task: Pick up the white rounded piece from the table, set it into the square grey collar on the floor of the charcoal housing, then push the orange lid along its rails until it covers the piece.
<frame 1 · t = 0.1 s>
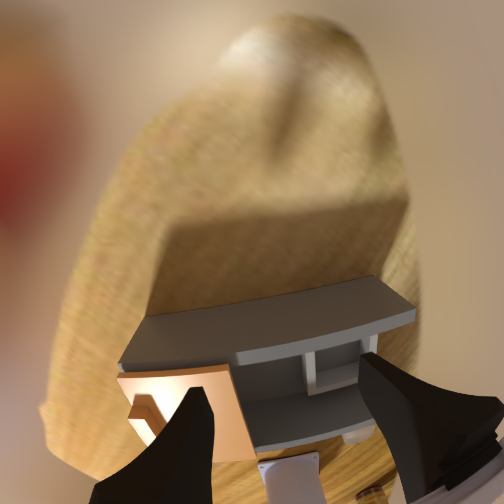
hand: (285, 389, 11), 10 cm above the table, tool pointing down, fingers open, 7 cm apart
white rounded piece: (344, 402, 25), on the table
sauce bottle: (366, 491, 35), on the table
lid: (193, 431, 15), point 8 cm above the table, slide at 0.0 cm
housing: (270, 355, 22), on the table
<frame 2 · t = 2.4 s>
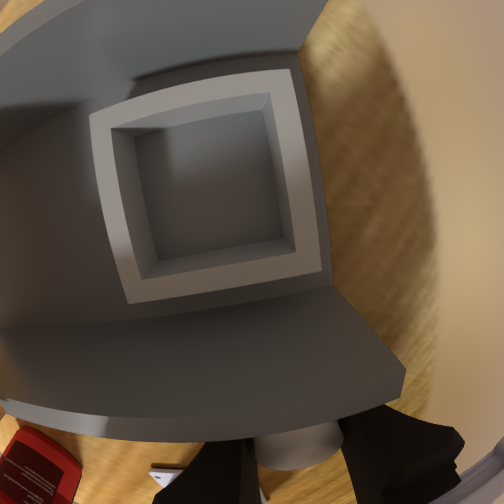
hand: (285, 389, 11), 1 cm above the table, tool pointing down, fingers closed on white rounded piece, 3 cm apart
canned food: (51, 449, 15), on the table
white rounded piece: (280, 370, 12), on the table, touching gripper
housing: (85, 215, 10), on the table
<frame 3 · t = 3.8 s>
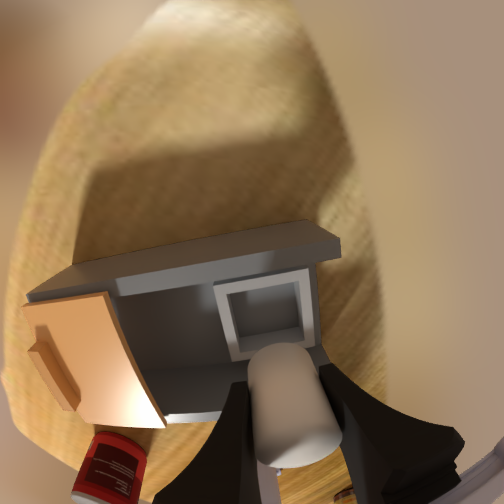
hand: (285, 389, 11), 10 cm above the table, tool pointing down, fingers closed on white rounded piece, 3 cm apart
canned food: (121, 446, 25), on the table
white rounded piece: (280, 368, 12), point 8 cm above the table, touching gripper
sauce bottle: (346, 492, 33), on the table
lid: (87, 377, 13), point 8 cm above the table, slide at 0.0 cm
housing: (192, 312, 20), on the table
when the fingers open (4 cm above the table, at t = 5.1 s): white rounded piece drops 1 cm, resting on housing.
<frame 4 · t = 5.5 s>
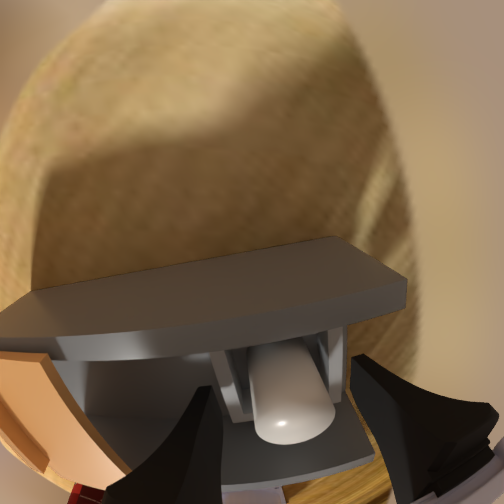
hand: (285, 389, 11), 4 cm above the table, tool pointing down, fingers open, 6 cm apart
canned food: (110, 479, 20), on the table
white rounded piece: (276, 353, 14), point 1 cm above the table, touching housing
lid: (48, 445, 7), point 8 cm above the table, slide at 0.0 cm
housing: (180, 356, 15), on the table
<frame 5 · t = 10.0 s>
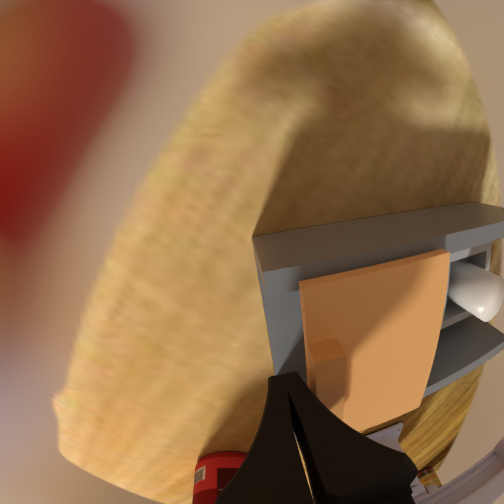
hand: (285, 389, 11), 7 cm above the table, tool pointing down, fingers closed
canned food: (230, 465, 23), on the table
white rounded piece: (451, 277, 17), point 1 cm above the table, touching housing
sauce bottle: (417, 474, 30), on the table
lid: (384, 371, 10), point 8 cm above the table, slide at 1.2 cm, touching gripper
housing: (392, 288, 18), on the table
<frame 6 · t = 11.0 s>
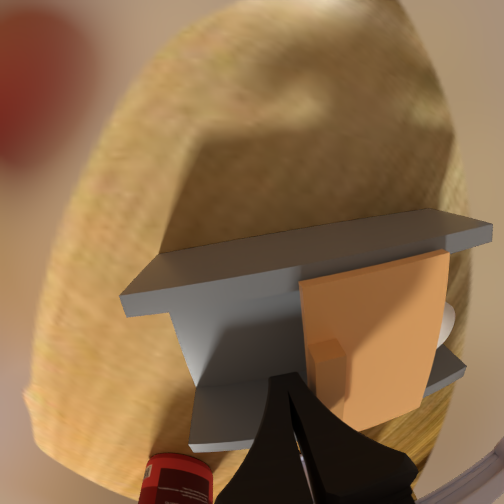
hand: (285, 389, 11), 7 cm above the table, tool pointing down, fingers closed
canned food: (180, 466, 23), on the table
white rounded piece: (395, 295, 17), point 1 cm above the table, touching housing
lid: (383, 371, 10), point 8 cm above the table, slide at 7.1 cm, touching gripper
housing: (318, 307, 18), on the table
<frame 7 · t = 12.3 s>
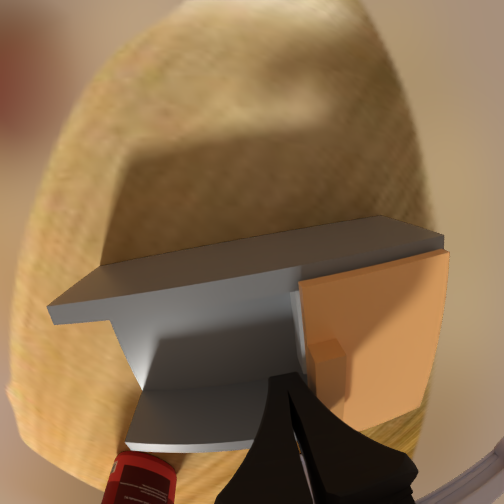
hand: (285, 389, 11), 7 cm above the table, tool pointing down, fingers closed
canned food: (146, 465, 23), on the table
lid: (384, 371, 10), point 8 cm above the table, slide at 11.6 cm, touching gripper
housing: (253, 320, 18), on the table
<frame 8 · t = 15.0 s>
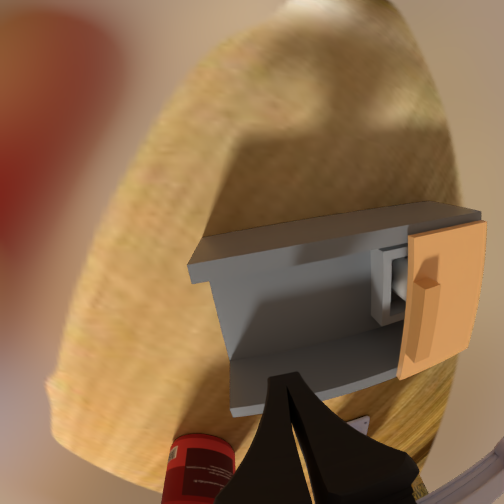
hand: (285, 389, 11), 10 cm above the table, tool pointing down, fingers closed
canned food: (202, 448, 26), on the table
white rounded piece: (401, 274, 20), point 1 cm above the table, touching housing
sauce bottle: (399, 471, 33), on the table
lid: (452, 306, 13), point 8 cm above the table, slide at 11.6 cm
housing: (338, 284, 21), on the table
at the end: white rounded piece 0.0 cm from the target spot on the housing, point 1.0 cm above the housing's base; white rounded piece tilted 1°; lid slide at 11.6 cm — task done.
